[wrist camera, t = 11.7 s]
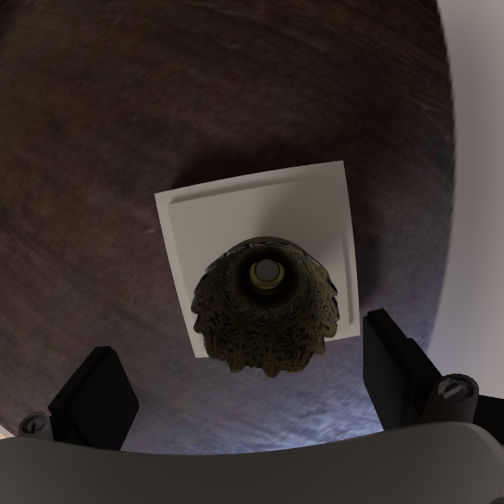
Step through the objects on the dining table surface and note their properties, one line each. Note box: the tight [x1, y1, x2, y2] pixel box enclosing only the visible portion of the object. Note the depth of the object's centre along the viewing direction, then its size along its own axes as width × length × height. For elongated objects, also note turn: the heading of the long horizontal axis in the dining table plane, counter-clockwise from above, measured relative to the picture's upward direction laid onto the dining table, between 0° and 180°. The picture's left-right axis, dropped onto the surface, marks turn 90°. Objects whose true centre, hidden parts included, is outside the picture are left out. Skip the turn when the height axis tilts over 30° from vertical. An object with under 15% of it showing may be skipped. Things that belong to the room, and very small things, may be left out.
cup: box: [191, 236, 340, 378], centre depth 19 cm, size 8×7×8 cm
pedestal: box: [155, 161, 360, 358], centre depth 25 cm, size 14×14×4 cm
